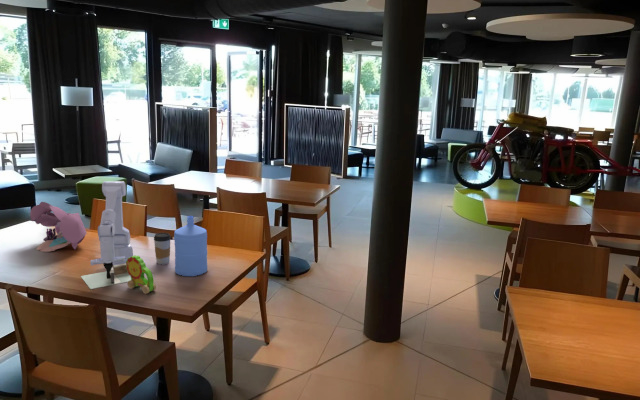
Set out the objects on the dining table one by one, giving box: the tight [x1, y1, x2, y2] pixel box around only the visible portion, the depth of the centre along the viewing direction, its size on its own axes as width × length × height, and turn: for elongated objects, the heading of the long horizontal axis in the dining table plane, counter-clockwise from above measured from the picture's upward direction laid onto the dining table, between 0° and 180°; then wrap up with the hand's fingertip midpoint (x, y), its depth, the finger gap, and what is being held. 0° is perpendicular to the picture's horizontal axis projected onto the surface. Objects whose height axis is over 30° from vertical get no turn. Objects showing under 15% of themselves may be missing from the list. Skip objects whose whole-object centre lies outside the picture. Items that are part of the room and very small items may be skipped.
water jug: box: [173, 215, 208, 277], centre depth 239 cm, size 16×16×28 cm
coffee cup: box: [153, 232, 172, 265], centre depth 250 cm, size 8×8×15 cm
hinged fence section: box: [110, 266, 114, 284], centre depth 226 cm, size 10×2×5 cm, turn 26°
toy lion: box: [126, 254, 157, 295], centre depth 217 cm, size 16×5×15 cm, turn 58°
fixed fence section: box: [112, 263, 128, 275], centre depth 234 cm, size 12×2×5 cm, turn 129°
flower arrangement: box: [30, 201, 87, 252], centre depth 266 cm, size 35×24×28 cm
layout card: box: [80, 270, 131, 290], centre depth 230 cm, size 24×18×1 cm
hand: (108, 277), depth 224 cm, fingers closed, pressing on hinged fence section
